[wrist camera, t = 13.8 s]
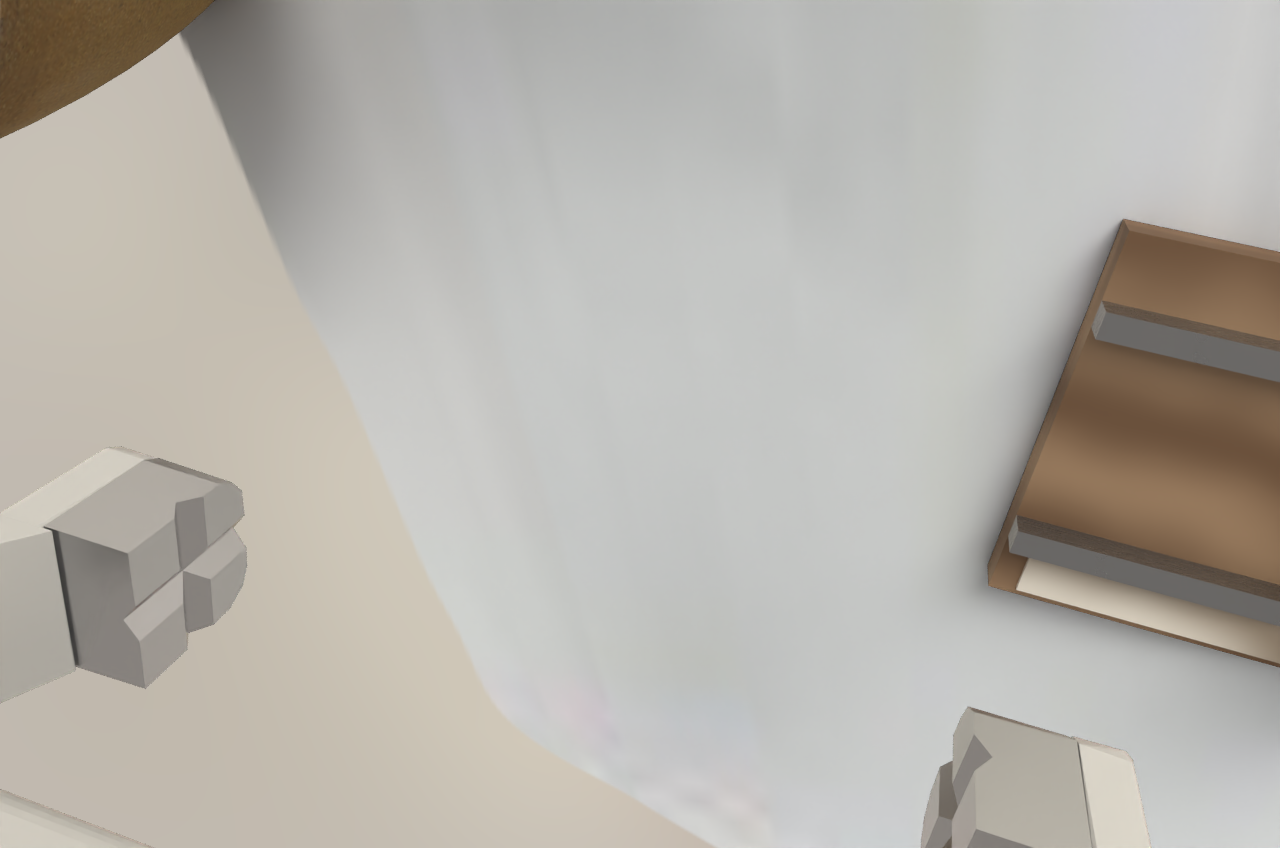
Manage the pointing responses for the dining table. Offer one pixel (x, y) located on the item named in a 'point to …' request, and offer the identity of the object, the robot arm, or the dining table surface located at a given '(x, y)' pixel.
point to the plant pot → (76, 48)
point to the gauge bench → (1162, 445)
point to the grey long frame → (1136, 562)
